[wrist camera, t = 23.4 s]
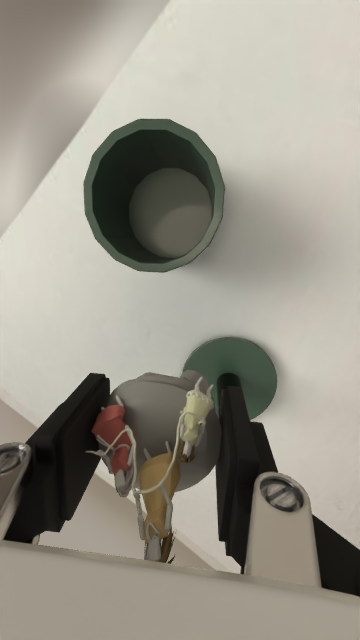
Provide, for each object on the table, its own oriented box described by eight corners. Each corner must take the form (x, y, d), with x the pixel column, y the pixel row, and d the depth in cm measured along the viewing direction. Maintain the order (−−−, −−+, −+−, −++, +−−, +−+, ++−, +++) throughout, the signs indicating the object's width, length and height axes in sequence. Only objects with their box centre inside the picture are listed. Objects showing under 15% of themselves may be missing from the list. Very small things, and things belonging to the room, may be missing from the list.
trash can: (125, 260, 29) (86, 268, 20) (124, 161, 26) (80, 117, 17) (214, 265, 28) (217, 275, 19) (222, 163, 26) (230, 119, 16)
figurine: (167, 471, 13) (135, 660, 7) (89, 413, 12) (-14, 564, 7) (247, 395, 11) (290, 550, 6) (163, 327, 11) (116, 419, 5)
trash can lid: (180, 414, 33) (173, 454, 27) (184, 332, 30) (178, 355, 24) (268, 422, 32) (283, 466, 26) (280, 339, 29) (301, 365, 23)
